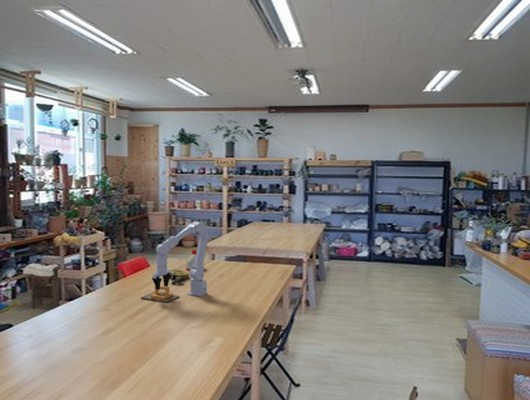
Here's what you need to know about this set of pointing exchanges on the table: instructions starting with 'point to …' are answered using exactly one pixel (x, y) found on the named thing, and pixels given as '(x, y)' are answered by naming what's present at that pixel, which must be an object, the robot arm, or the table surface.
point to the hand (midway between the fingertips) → (161, 288)
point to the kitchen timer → (191, 261)
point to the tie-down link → (163, 293)
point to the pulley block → (178, 275)
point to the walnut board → (148, 297)
